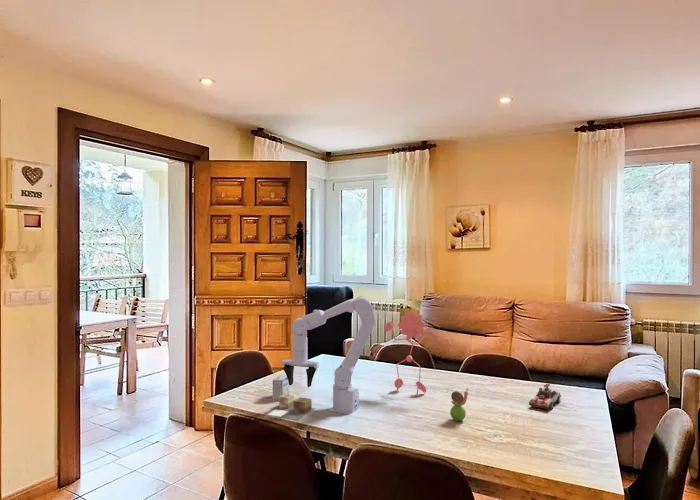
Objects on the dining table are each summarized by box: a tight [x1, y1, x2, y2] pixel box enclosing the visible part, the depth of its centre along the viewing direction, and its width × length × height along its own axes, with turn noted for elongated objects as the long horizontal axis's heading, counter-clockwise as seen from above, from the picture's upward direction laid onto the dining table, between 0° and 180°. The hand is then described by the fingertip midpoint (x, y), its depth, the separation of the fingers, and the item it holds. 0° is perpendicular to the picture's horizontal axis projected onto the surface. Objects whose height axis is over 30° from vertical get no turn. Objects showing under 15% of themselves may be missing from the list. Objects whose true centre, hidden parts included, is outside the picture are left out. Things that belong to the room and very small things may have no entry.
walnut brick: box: [293, 396, 313, 414], centre depth 173 cm, size 5×5×4 cm
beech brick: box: [278, 394, 295, 409], centre depth 177 cm, size 4×4×4 cm
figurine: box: [383, 310, 440, 398], centre depth 199 cm, size 15×26×35 cm, turn 60°
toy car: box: [528, 383, 562, 410], centre depth 182 cm, size 8×18×8 cm, turn 140°
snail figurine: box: [449, 388, 469, 422], centre depth 164 cm, size 5×6×12 cm
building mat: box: [261, 405, 316, 422], centre depth 172 cm, size 15×14×1 cm
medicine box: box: [272, 374, 290, 402], centre depth 189 cm, size 8×4×9 cm, turn 168°
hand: (300, 385), depth 174 cm, fingers open, 7 cm apart
